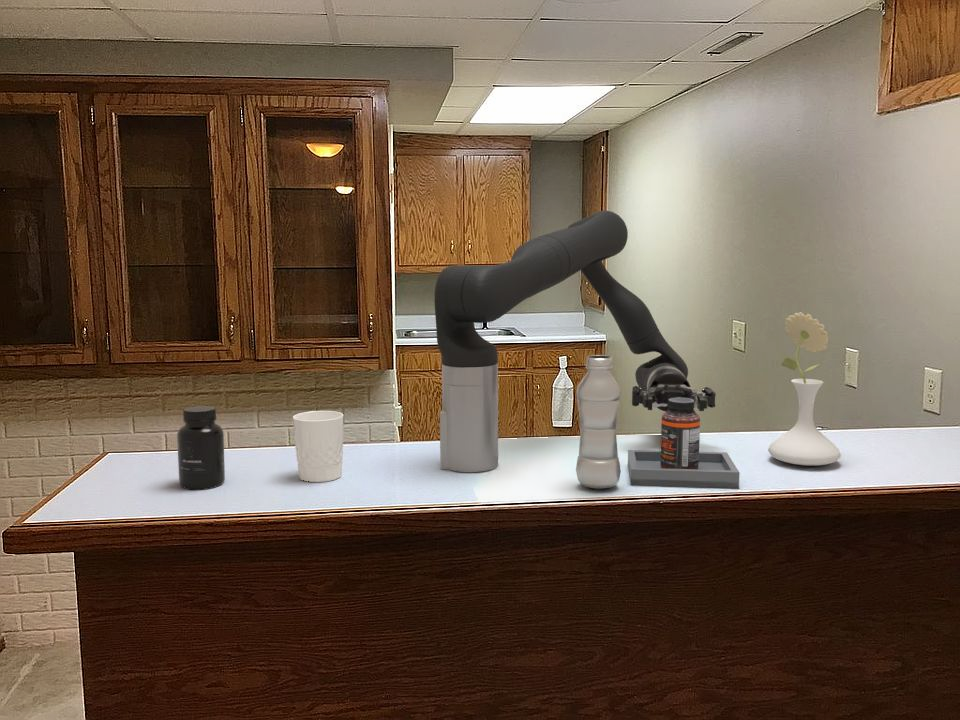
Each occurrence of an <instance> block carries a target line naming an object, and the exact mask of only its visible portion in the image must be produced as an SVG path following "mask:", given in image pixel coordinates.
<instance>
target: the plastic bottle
mask: <svg viewBox="0 0 960 720" xmlns="http://www.w3.org/2000/svg"><path fill="white" fill-rule="evenodd" d="M612 361H613V357H612V356H611V355H603V354H591V355H587V356H586V364H585V369H586V370H587V372H586V374H585V375H584V376H583V378H582V379H580V382H579V383H578V385H577V387H576V401H577V408H578V415H579V417H578V418H579V434H580V435H579V436H580V437H579V447H578V456H577V460H576V466H575V467H576V468H575V472H576V473H575V474H576V479H577V481H578V482H579V484H580V485H581V486H583V487H586V488H591V489H610V488H613V487H615V486H616V485H617V484H618V482H620V477H621V472H622V471H621V464H620V459H619V456H618V455H619V452H618V441H617V439H618V438H617V427H618V414H619V410H620V409H619V408H620V402H621V400H620V399H621V394H622V393H621V389H620V386H619V384H618V382H617V381H616V378H614V376H613V375H612V373H611V370H613V362H612Z"/></svg>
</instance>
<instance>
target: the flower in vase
mask: <svg viewBox="0 0 960 720" xmlns="http://www.w3.org/2000/svg"><path fill="white" fill-rule="evenodd" d="M784 325H785V327H784V330H785V331H786V333H788V337H789V338H790V339H792V341H793V343H794V344H795V345H797V347H796V352H795V358H794V359H793V358H791V357H790V356H786V357H785V358H784V359H783V361H782V362H781V364H780V366H782V367H785V368H788V369H790V370H791V371H796V370H797V369H798V371H799V373H800V375H801V378H794V379H791V381H790V383H792V385H793V386H794V388H795V390H796V395H797V398H798V417H797V421H796V422H795V425H793V427H792V428H791V429H789V430H788V431H786V432H785V433H782V434H781V435H780V436H779V437H777V438H776V439H775V440H774V441H772V442H771V443H770V444H769V446H768V448H767V452H768V454H769V455H770V456H771V457H772V458H775V459H776V460H779V461H781V462H784V463H787V464H792V465H799V466H827V465H830V464H832V463H836V462H837V461H838V460H839V459H840V458H841V457H842V455H841V452H840V450H839V448H838V447H837V446H836V444H834V443H833V442H832V441H831V440H830V439H829V438H828V437H827V436H825V435H824V434H823V433H822V432H821V431H820V430H819V429H818V428H817V427H816V425H815V423H814V405H815V400H816V396H817V393H818V392H819V390H820V388H821V387H822V385H823V384H824V381H823V380H820V379H814V378H805V375H804V373H806V372H809V371H811V370H814V369H816V368H818V366H820V365H821V364H822V363H823V361H821V362H819V363H818V364H816V365H812V366H810V367H807V368H806V369H805V370H804V371H802V369H801V366H800V364H799V360H798V359H799V357H798V355H799V352H800V348H801V349H805V350H806V351H807V352H811V353H815V354H816V353H817V352H822V351H823V350H827V349H828V346H827V345H828V343H829V333H828V332H827V331H825V329H826V327H825V325H824V324H822V323H820V321H819V319H817V318H813V316H812V314H810V313H807V314H806V315H805V314H804V313H803V312H801V311H799V312H795V313H794V314H792V315H788V317H786V318H785V323H784Z"/></svg>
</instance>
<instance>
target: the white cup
mask: <svg viewBox="0 0 960 720" xmlns="http://www.w3.org/2000/svg"><path fill="white" fill-rule="evenodd" d="M344 415H345V414H343V413H342V412H340V411H336V410H335V411H334V410H312V411H311V410H310V411H305V412H300V413H297V414H294V415H293V416H292V421H293V423H292V424H293V434H294V435H293V436H294V446H295V452H296V454H295V455H296V456H295V457H296V462H297V470H298V471H297V472H298V478H299V479H300V480H301V481H303V480H304V481H303V482H308V481H309V482H308V483H310V482H311V483H325V482H330V481H335V480H338V479H340V478H341V476H342V475H343V461H342V460H343V455H344V451H343V450H344V449H343V448H344Z"/></svg>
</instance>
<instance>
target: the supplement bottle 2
mask: <svg viewBox="0 0 960 720" xmlns="http://www.w3.org/2000/svg"><path fill="white" fill-rule="evenodd" d="M700 418H701V417H700V414H698V413H696V410H695V408H694V400H693V399H690V398H681V397H677V398H670V399H669V400H668V410H667V411H666V412H665V411H664V412H663V414H662V416H661V424H660V425H661V429H660V451H661V456H660V462H661V463H660V464H661V468H662V469H698V464H699V452H700V439H701V438H700V437H701V436H700V435H701V433H700V432H701V419H700Z"/></svg>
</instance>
